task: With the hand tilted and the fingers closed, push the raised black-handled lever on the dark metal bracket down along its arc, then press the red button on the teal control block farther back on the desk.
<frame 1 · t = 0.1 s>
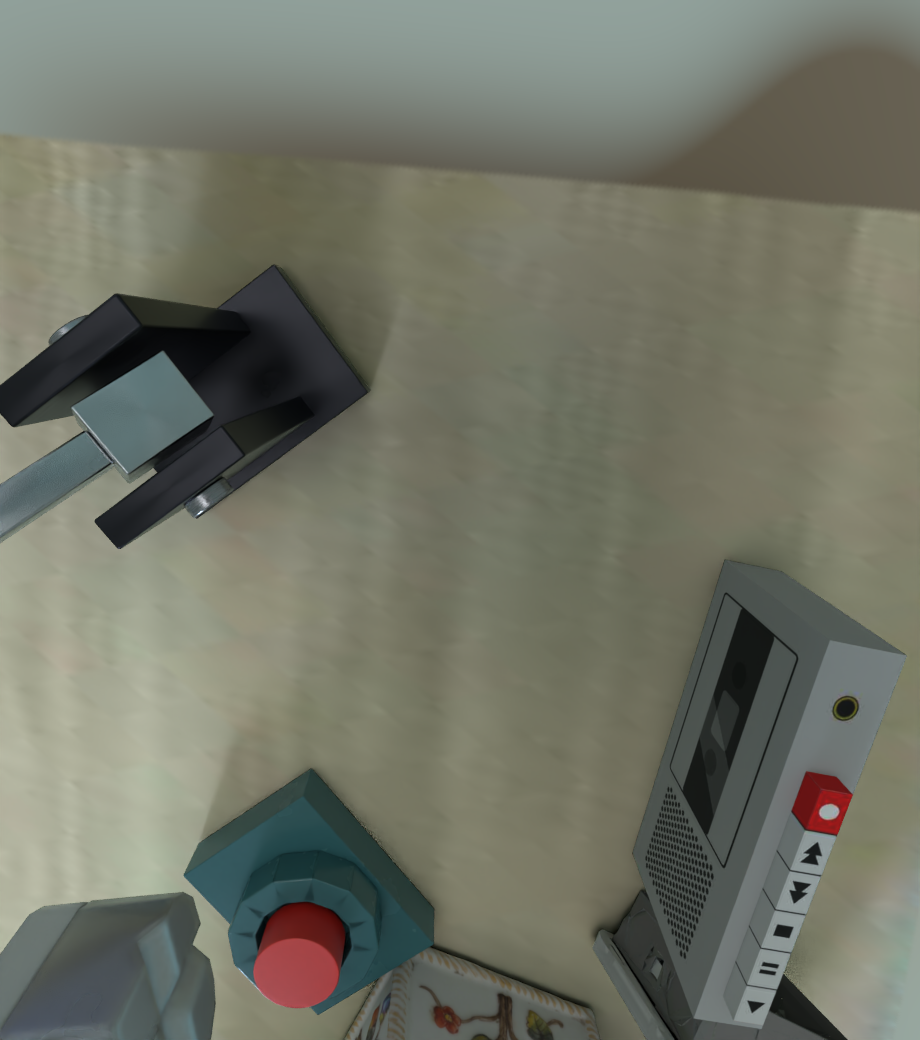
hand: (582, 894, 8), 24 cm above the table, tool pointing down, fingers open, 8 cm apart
button: (300, 953, 31), point 5 cm above the table, slide at 0.1 cm
cassette player: (701, 717, 34), on the table, touching electrical switch
button block: (318, 876, 36), on the table
bracket: (241, 394, 30), on the table
lever: (9, 508, 19), point 12 cm above the table, hinge at 28.0°
electrical switch: (684, 930, 37), on the table, touching cassette player
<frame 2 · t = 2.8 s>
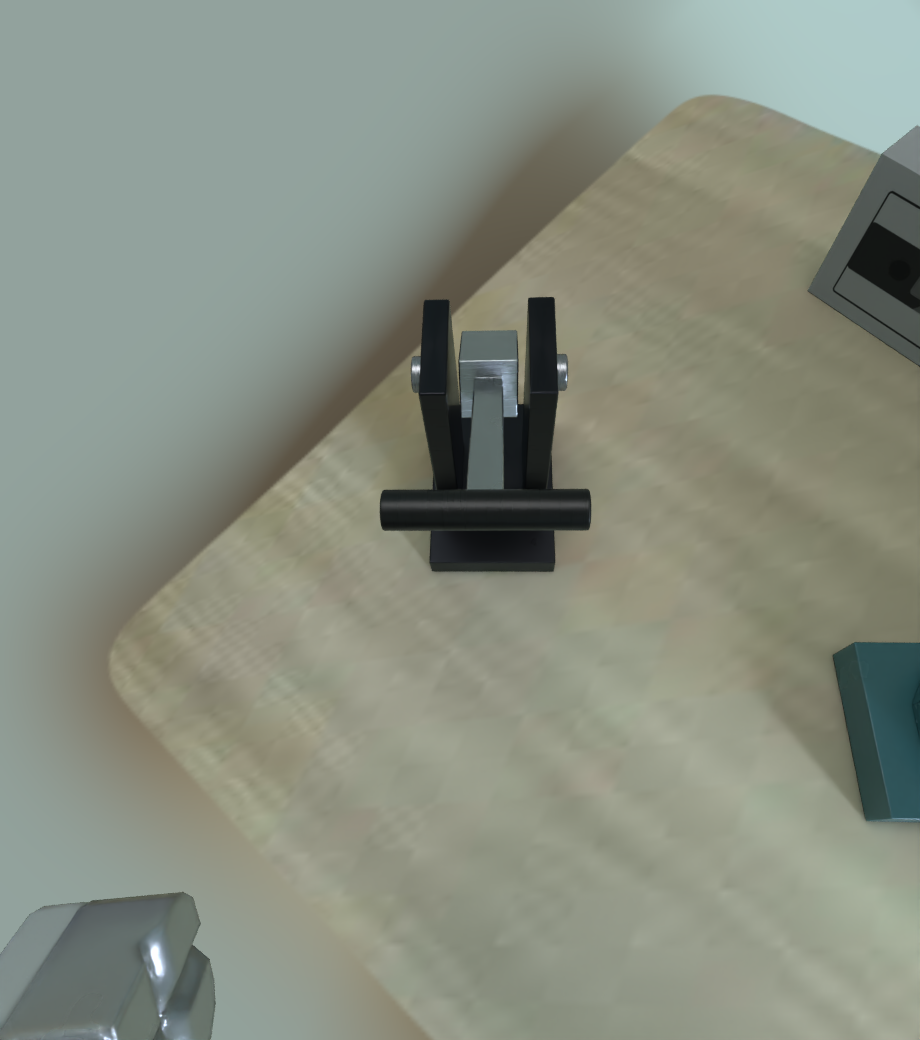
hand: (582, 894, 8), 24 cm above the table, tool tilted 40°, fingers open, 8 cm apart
bracket: (492, 490, 37), on the table
lever: (487, 425, 25), point 12 cm above the table, hinge at 28.0°
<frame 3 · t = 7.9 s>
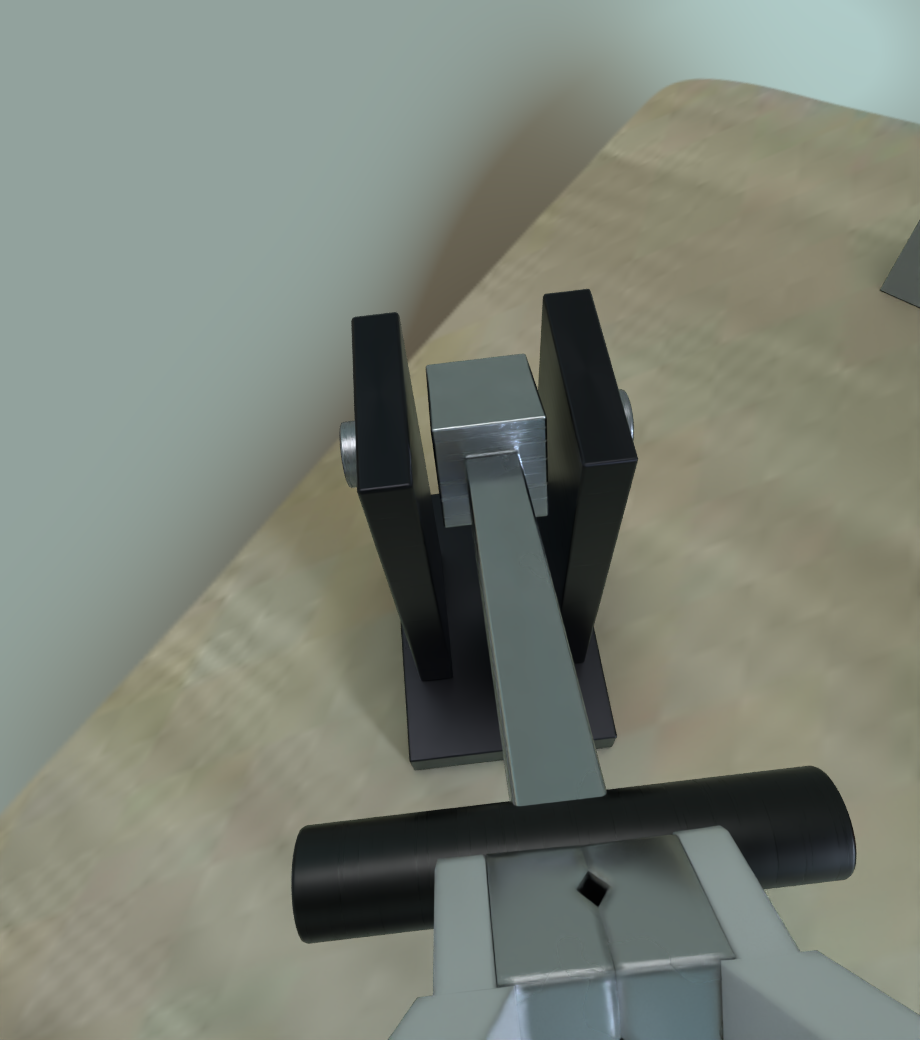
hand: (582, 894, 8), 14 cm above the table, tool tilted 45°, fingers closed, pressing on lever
bracket: (494, 620, 24), on the table
lever: (510, 566, 12), point 11 cm above the table, hinge at 21.2°, touching gripper
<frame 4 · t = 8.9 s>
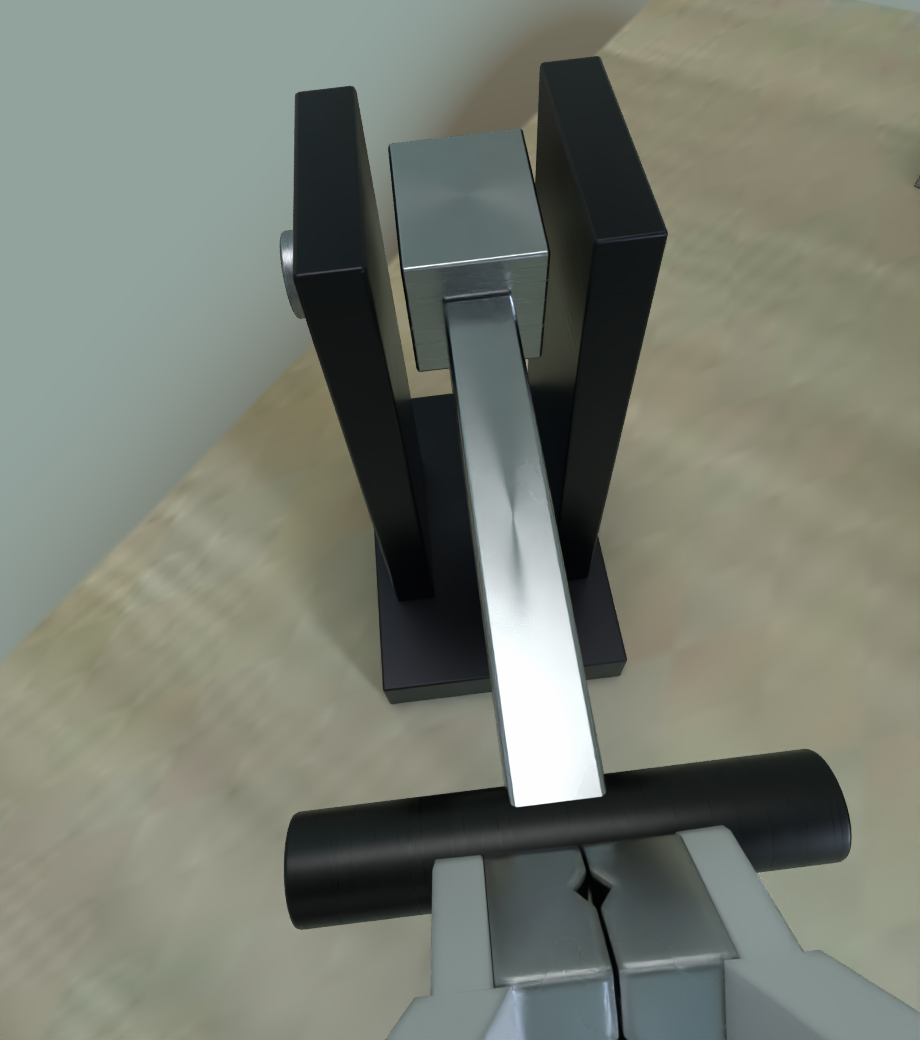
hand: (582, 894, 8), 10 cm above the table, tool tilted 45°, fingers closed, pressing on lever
bracket: (483, 538, 21), on the table
lever: (501, 464, 10), point 10 cm above the table, hinge at -4.2°, touching gripper
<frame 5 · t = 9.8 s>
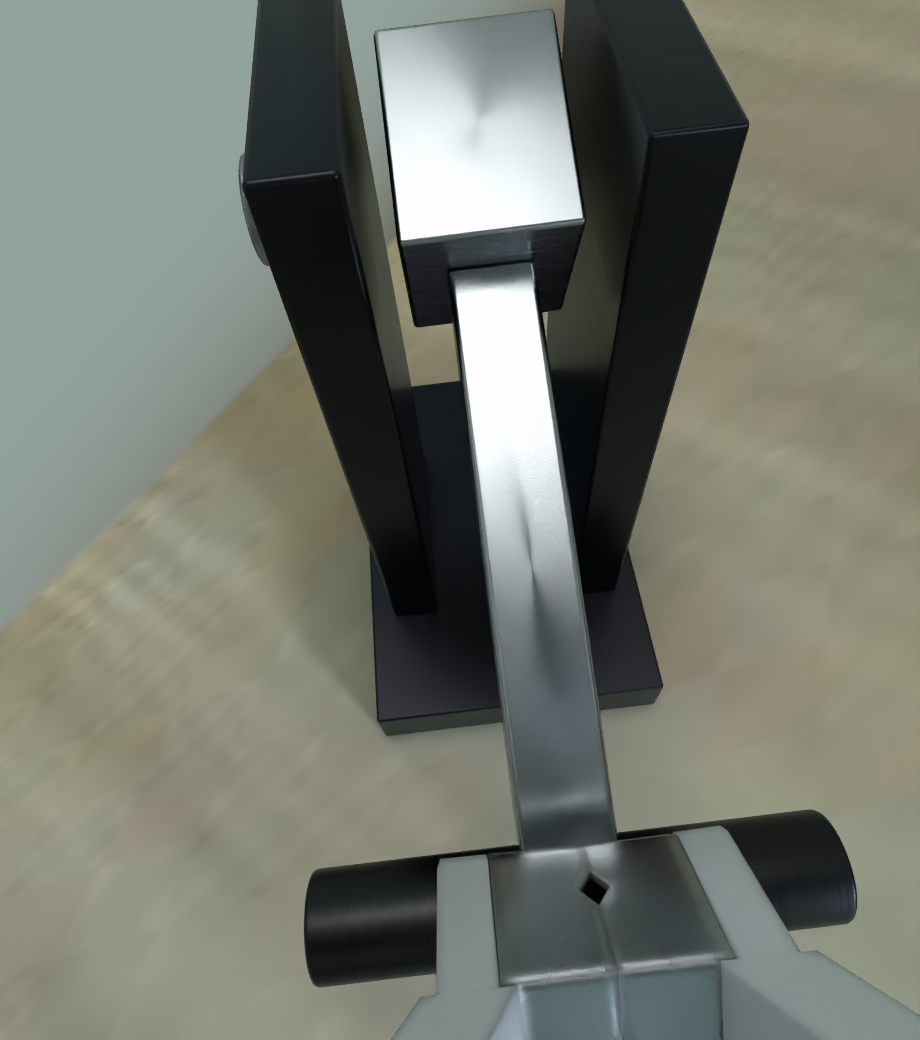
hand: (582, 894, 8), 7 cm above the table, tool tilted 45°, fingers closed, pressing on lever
bracket: (494, 543, 18), on the table
lever: (517, 483, 9), point 8 cm above the table, hinge at -22.7°, touching gripper
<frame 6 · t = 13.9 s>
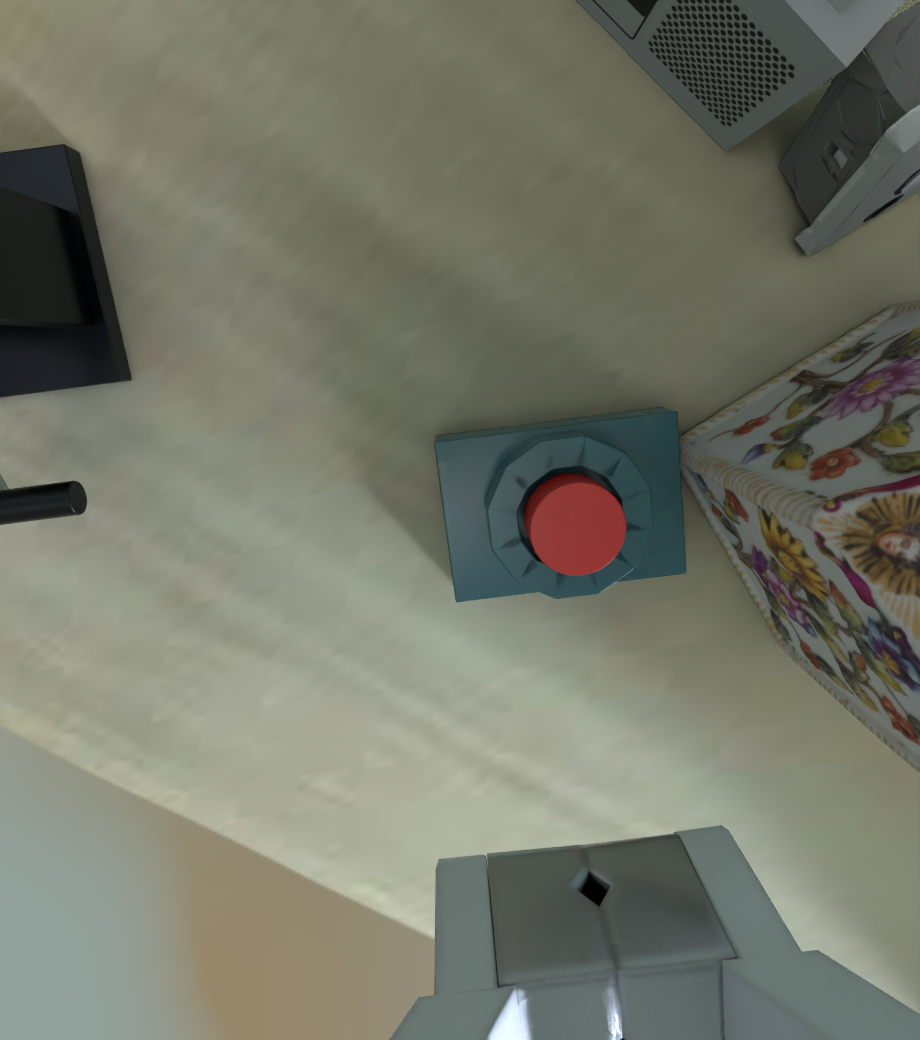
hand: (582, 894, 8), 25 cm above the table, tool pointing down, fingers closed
button: (573, 523, 28), point 5 cm above the table, slide at 0.1 cm
button block: (555, 498, 32), on the table
bracket: (35, 279, 30), on the table
electrical switch: (866, 143, 29), on the table, touching cassette player
decorative jar: (833, 482, 32), on the table, touching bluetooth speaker, button block
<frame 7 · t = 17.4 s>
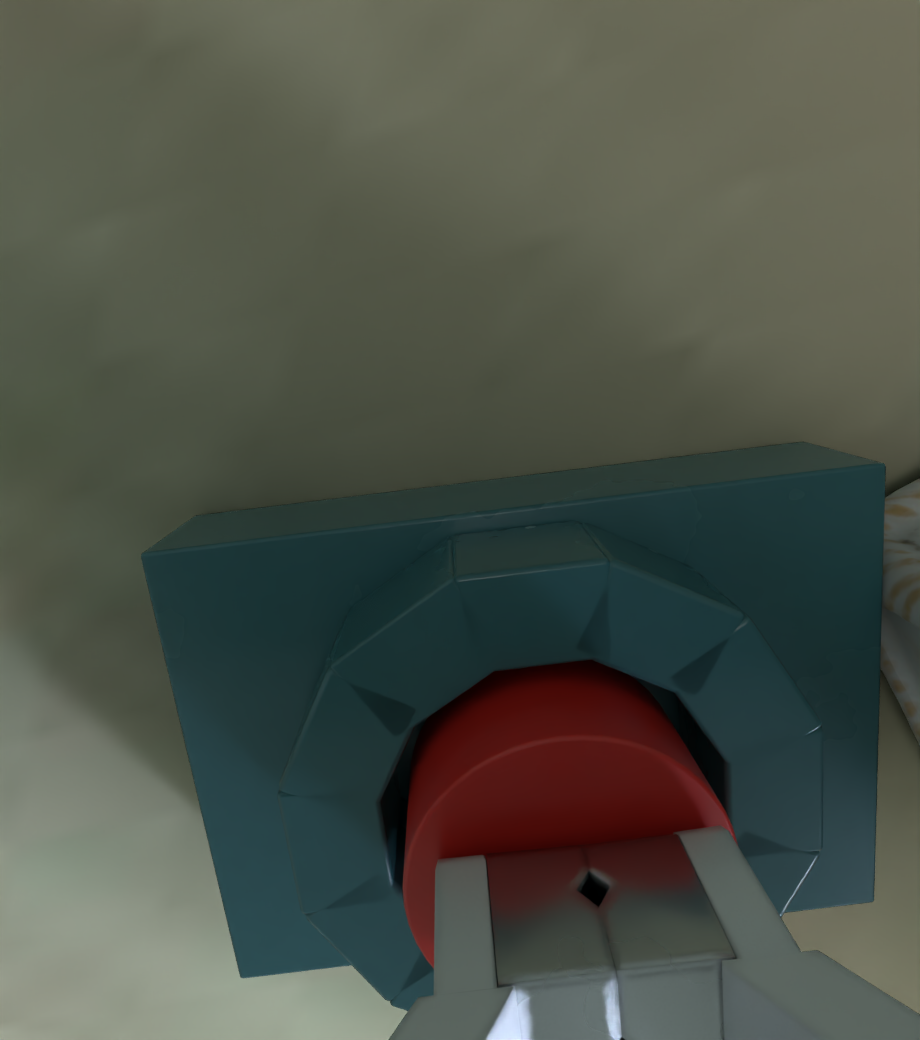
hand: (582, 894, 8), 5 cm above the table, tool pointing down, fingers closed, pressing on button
button: (557, 825, 9), point 4 cm above the table, slide at -0.5 cm, touching gripper
button block: (520, 674, 12), on the table
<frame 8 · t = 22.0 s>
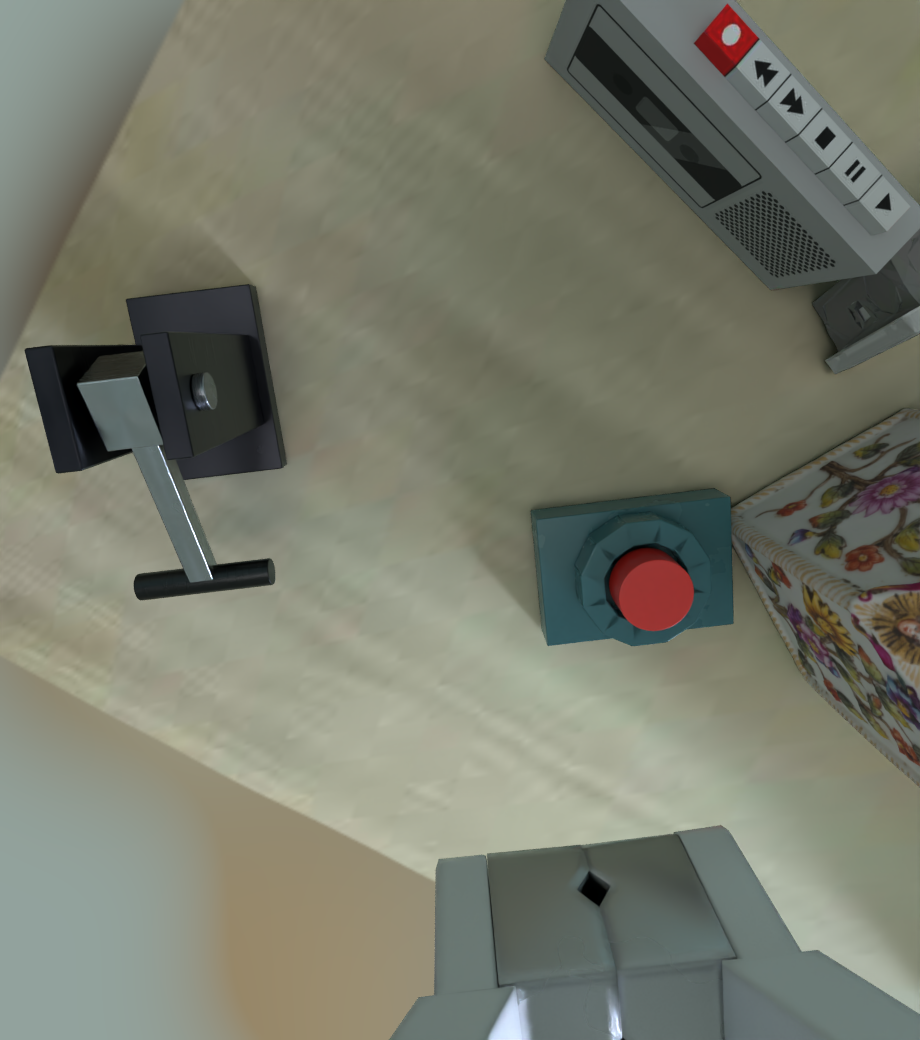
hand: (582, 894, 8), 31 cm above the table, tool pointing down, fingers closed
button: (650, 588, 35), point 5 cm above the table, slide at 0.1 cm
cassette player: (680, 157, 35), on the table
button block: (626, 560, 39), on the table
bracket: (213, 384, 37), on the table
lever: (168, 489, 29), point 8 cm above the table, hinge at -22.7°
electrical switch: (881, 284, 36), on the table
decorative jar: (850, 546, 40), on the table, touching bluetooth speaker
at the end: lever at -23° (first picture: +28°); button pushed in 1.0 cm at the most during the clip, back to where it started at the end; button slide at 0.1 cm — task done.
